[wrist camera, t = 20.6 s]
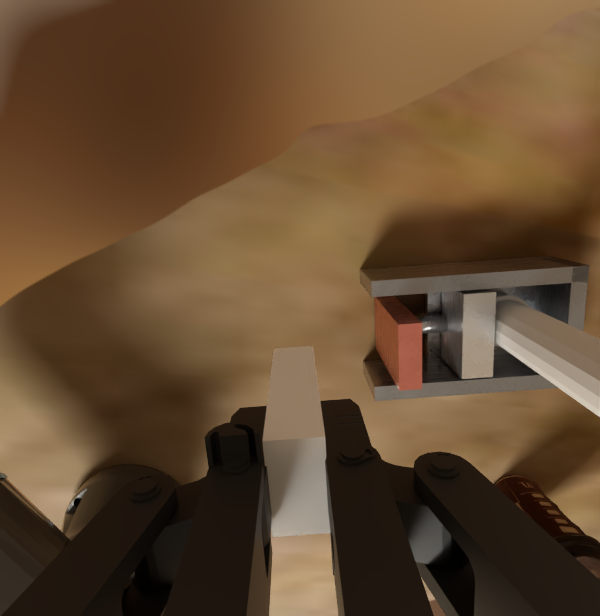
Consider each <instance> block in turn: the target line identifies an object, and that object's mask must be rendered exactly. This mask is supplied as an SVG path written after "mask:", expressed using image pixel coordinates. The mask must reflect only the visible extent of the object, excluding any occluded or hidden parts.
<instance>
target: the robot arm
mask: <svg viewBox="0 0 600 616" xmlns="http://www.w3.org/2000/svg"><path fill="white" fill-rule="evenodd" d="M205 444H206V451H207V458H208V465H209V469H208V472H207V475H206V477H204V478H202V479H200V480H198V481H195V482H192V483H189V484H185V485H182V486H180V485H179V484H178V483H177V482H176V481H174V479H172V478H171V477H170V476H169V475H165V474H163V473H162V472H159V471H157V470H154V469H152V468H148V467H144V466H137V465H121V466H114V467H110V468H107V469H104V470H102V471H100V472H98V473H96V474H94V475H93V476H92V477H90V478H89V479H88V480H87V481H86V482H85V483H84V484H83V485H82V486H81V487H80V489H79V490H78V492H77V493H76V494H75V496H74V497H73V498H72V500H71V502H70V503H69V505H68V508H67V510H66V513H65V516H64V520H63V525H62V529H61V530H59V529H58V528H57V527H56V526H55V525H54V524H53V523H52V522H51V521H50V520H49V519H48V518H47V517H46V516H45V515H44V514H43V513H42V512H41V511H40V510H39V509H38V508H37V507H36V506H35V505H33V504H32V503H31V502H30V501H29V500H28V499H27V498H26V497H25V496H24V495H23V494H22V493H21V492H20V491H19V490H18V489H17V488H16V487H15V486H14V485H13V484H12V483H11V482H10V481H9V480H7V476H6V475H5V474H4V473H0V616H269V604H270V586H271V567H272V546H271V537H270V536H271V530H272V537H283V536H297V535H311V534H325V533H331V548H332V564H333V575H334V577H335V586H336V596H337V605H338V615H339V616H434V615H433V612H432V609H431V606H430V603H429V600H428V597H427V594H426V591H425V588H424V585H423V582H422V579H423V580H424V582H425V583H426V585H427V586H428V588H429V590H430V591H431V593H432V594H433V596H434V597H435V599H436V600H437V602H438V604H439V605H440V607H441V608H442V610H443V612H444V613H445V615H446V616H600V580H599V579H598V578H597V577H596V576H595V575H594V574H593V573H591V572H590V571H589V570H588V569H587V568H586V567H585V566H584V565H583V564H581V563H580V562H579V561H578V560H577V559H576V558H575V557H574V556H573V555H571V554H570V553H569V552H568V551H567V550H566V549H565V548H564V547H563V546H561V545H560V544H559V543H558V542H557V541H556V540H555V539H554V538H553V537H551V536H550V535H549V534H548V533H547V532H546V531H545V530H544V529H543V528H541V527H540V526H539V525H538V524H537V523H536V522H535V521H534V520H533V519H531V518H530V517H529V516H528V515H527V514H526V513H525V512H524V511H523V510H522V509H520V508H519V507H518V506H517V505H516V504H515V503H514V502H513V501H512V500H510V499H509V498H508V497H507V496H506V495H505V494H504V493H503V492H502V491H500V490H499V489H498V488H497V487H496V486H495V485H494V484H493V483H492V482H490V481H489V480H488V479H487V478H486V477H485V476H484V475H483V474H482V473H480V472H479V471H478V470H477V469H476V468H475V467H474V466H473V465H472V464H470V463H469V462H468V461H466V460H465V459H463V458H462V457H460V456H457V455H454V454H451V453H446V452H432V453H427V454H424V455H421V456H419V457H418V458H417V459H416V460H415V463H414V468H410V467H402V466H397V465H393V464H390V463H387V462H385V461H383V460H382V459H381V457H380V454H379V453H378V452H377V450H376V449H375V448H373V447H372V446H371V443H370V440H369V436H368V433H367V430H366V427H365V424H364V421H363V417H362V414H361V411H360V408H359V406H358V405H357V404H356V403H355V402H353V401H352V400H351V399H341V400H327V401H320V394H319V387H318V380H317V372H316V365H315V358H314V350H313V346H304V347H290V348H276V349H274V353H273V361H272V369H271V377H270V385H269V393H268V401H267V406H260V407H246V408H240V409H239V410H238V411H237V412H236V413H235V414H234V415H233V416H232V417H231V421H230V423H225V424H222V425H220V426H217V427H215V428H214V429H212V430H211V431H209V432H208V433H207V435H206V436H205ZM420 575H421V576H420ZM421 577H422V579H421Z"/></svg>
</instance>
